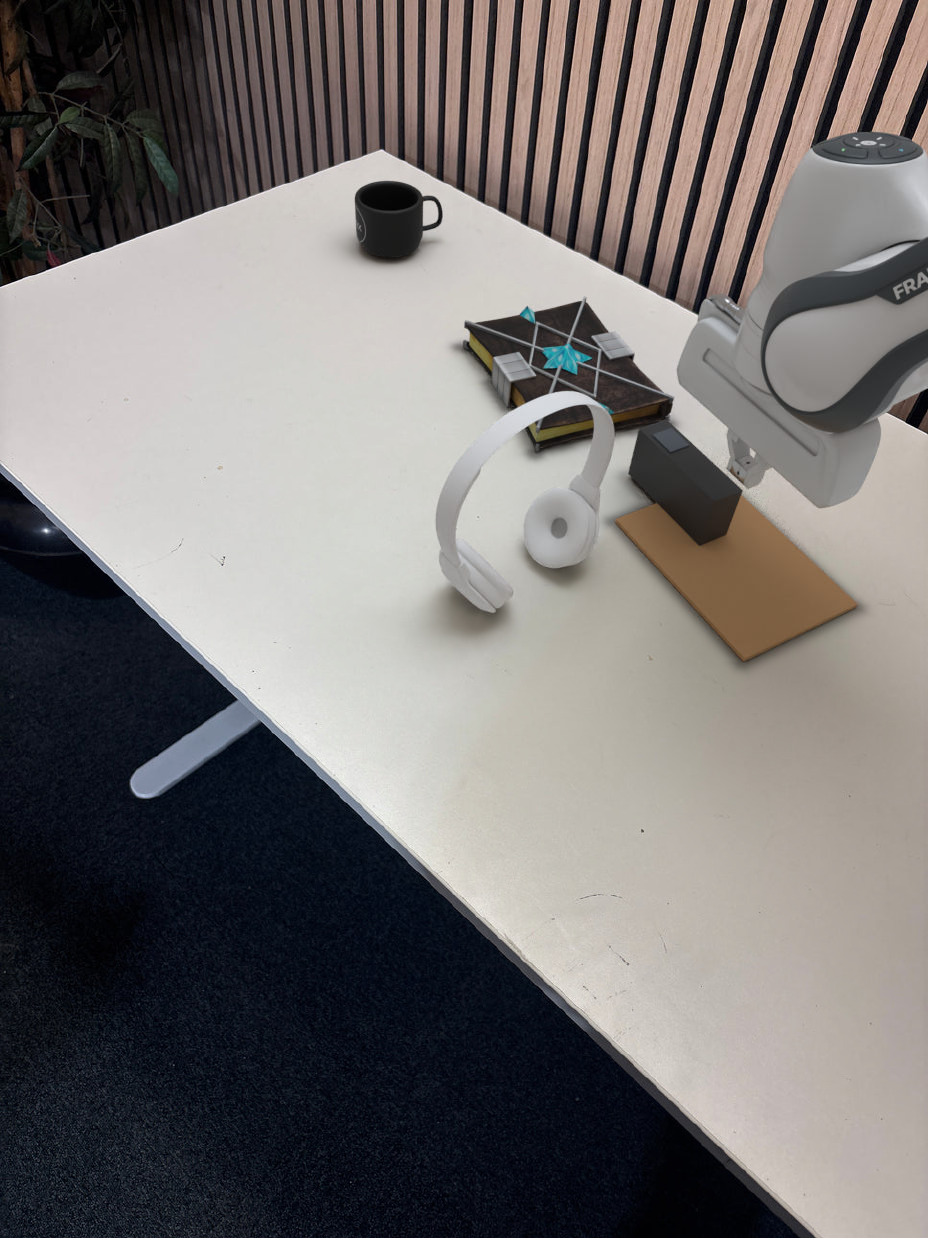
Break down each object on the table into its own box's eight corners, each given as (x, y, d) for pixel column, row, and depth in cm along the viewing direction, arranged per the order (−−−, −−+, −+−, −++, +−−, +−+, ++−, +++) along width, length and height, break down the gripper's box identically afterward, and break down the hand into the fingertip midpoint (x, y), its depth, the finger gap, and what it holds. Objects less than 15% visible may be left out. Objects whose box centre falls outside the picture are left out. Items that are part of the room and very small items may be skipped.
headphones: (610, 559, 89) (651, 390, 74) (464, 647, 82) (475, 478, 66) (561, 517, 93) (591, 347, 77) (416, 598, 85) (416, 427, 70)
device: (743, 489, 87) (666, 417, 93) (715, 500, 86) (639, 427, 92) (726, 534, 92) (654, 463, 98) (699, 546, 90) (627, 473, 97)
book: (669, 423, 103) (679, 386, 99) (535, 455, 99) (540, 418, 95) (583, 320, 116) (588, 284, 112) (459, 345, 111) (461, 308, 107)
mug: (366, 268, 122) (364, 216, 116) (349, 235, 127) (346, 183, 121) (452, 256, 124) (453, 205, 119) (432, 224, 130) (432, 173, 124)
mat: (856, 607, 87) (858, 604, 86) (743, 662, 82) (745, 658, 82) (721, 480, 98) (722, 476, 97) (614, 522, 93) (615, 518, 92)
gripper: (680, 291, 77) (647, 422, 88) (853, 431, 67) (791, 560, 77) (737, 274, 80) (698, 404, 90) (914, 407, 69) (846, 536, 79)
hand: (742, 477), depth 84 cm, fingers closed
